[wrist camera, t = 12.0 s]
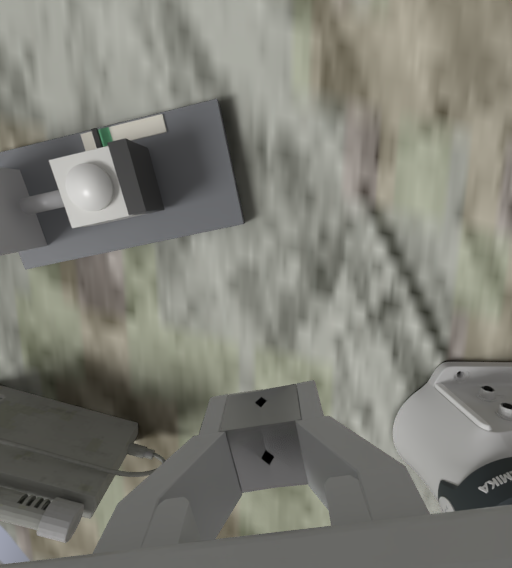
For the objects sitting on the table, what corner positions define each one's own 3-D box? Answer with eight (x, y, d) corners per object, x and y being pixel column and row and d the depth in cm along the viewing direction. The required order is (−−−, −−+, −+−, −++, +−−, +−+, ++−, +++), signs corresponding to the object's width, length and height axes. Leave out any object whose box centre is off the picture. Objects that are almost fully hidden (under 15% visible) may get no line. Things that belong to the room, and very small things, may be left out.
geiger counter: (-143, 506, 29) (125, 575, 29) (-147, 450, 27) (138, 525, 28) (-11, 408, 42) (171, 457, 43) (-8, 367, 40) (181, 419, 41)
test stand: (219, 103, 32) (198, 63, 22) (244, 222, 35) (235, 230, 25) (-7, 158, 34) (-109, 143, 25) (34, 266, 37) (-44, 288, 28)
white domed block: (140, 118, 30) (115, 102, 25) (165, 210, 32) (146, 211, 27) (20, 148, 31) (-26, 138, 27) (51, 234, 34) (14, 240, 29)
